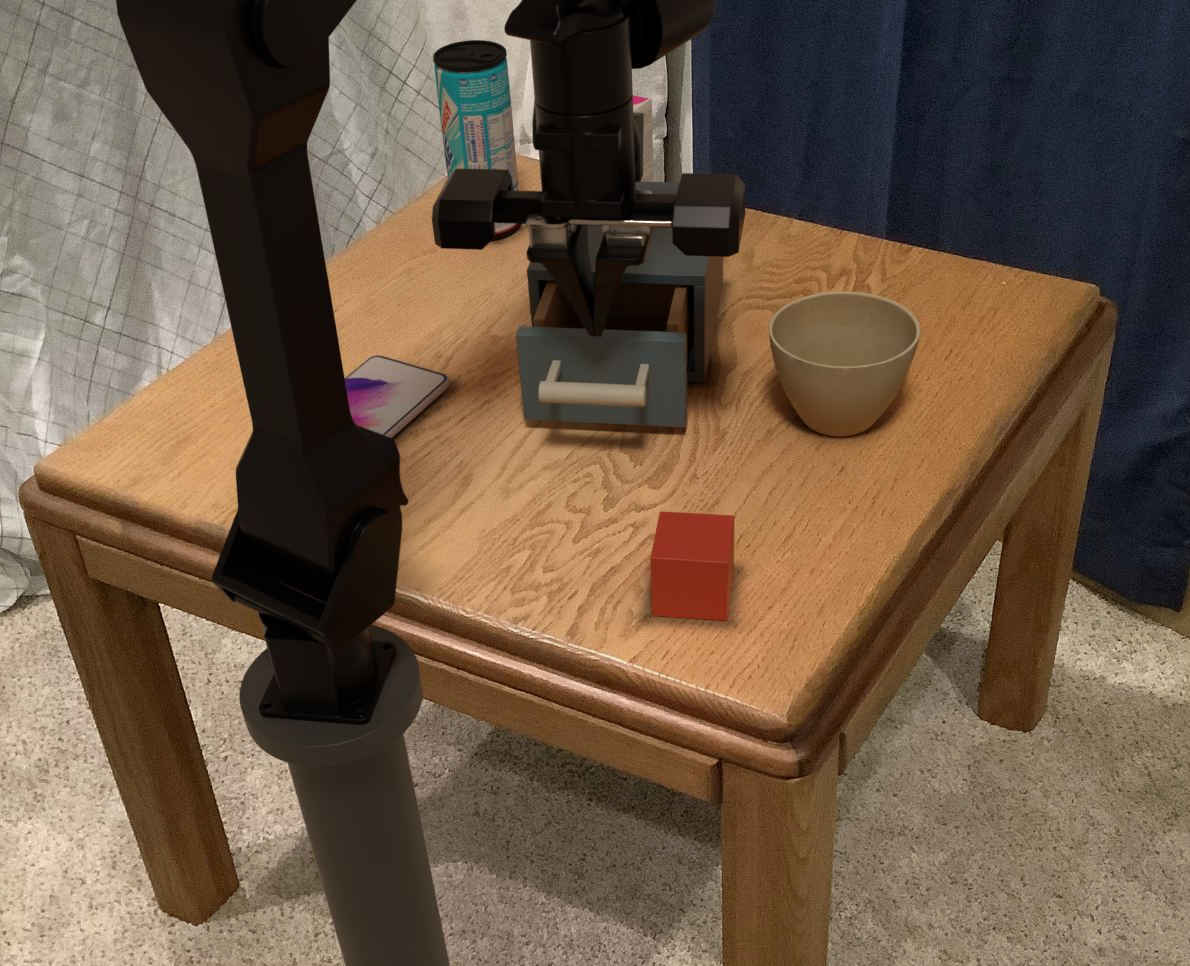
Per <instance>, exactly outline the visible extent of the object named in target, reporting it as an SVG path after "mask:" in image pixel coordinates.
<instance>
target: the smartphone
mask: <svg viewBox="0 0 1190 966" xmlns="http://www.w3.org/2000/svg"><path fill="white" fill-rule="evenodd" d="M344 377H345V383H346V389H347V395H348V401H349V407H350V412H351V415H352V418H353V420H354V422H355V423H356V425H359V426H361V427H364V428H367V429H369V430H372V431H374V432H377V433H380V434H382V435H385V436H388V437H390V438H393V439H394V437H395V436H396V435H397V434H398V433H400V431H401V430H403V429H404V428H405V427H406V426H407V425H408V424H410V423H411V422H412V421H413V420H414V419H415V418H416V417H417V416H418V415H420V413H421V412H423V411H424V410H425V409H426V408H427V407H428V406H429V405H431V404H432V403H433V402H434V401H435V400H436V399H438V397H440V396H441V395H442V394H443V393H444V392H445V391H447V390H448V388H449V387H450V385H451V380H450V377H449V376H448V375H447V374H446V373H444V372H440V371H436V370H433V369H429V368H426V367H423V366H420V365H416V364H412V363H409V362H405V361H402V360H399V359H395V358H391V357H389V356H385V355H381V354H377V355H372V356H370V357H368V358H367V359H366V360H365V361H363V362H362V363H361V364H360V365H358V366H357V368H355V369H354V370H353V371H351V372H350V373H349V374H348V375H347V376H344Z"/></svg>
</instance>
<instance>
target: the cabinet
mask: <svg viewBox="0 0 1190 966" xmlns="http://www.w3.org/2000/svg"><path fill="white" fill-rule="evenodd" d="M679 184H680V181H679V182H678V181H677V182H676V181H674V182H673V181H654V182H636V190H649V191H652V194H677V191H678V188H679ZM602 237H603V234H602V226H590V225H588V250H589V257H590V263H591V270H592V276H593V282H595V265H596V256H597V253H598V250H599V247H600V244H601V240H602ZM526 277H527V278H526V279H527V290H528V300H529V311H530V312H529V313H530V322H531V323H530V324H531V327H534V322H533V319H534V316H535V313H536V311H537V308H538V305H539V303H540V300H541V297H542V295H543V292H544V289H545V286H546V284H547V281H548V280H549V281H555V280H554V279H553V277H552V276H551V275H550V273H549V272H548V271H547V269H546V268H545V267H544V266H543V264H541V263H533V262H530V261H529V264H528V267H527V268H526ZM619 283H640V284H670V285H694V335H693V339H692V344H691V349H690V354H689V359H688V364H687V383H689V382H692V383H705V382H706V378H707V372H708V367H709V360H710V355H711V349H712V345H713V340H714V334H715V330H716V323H717V319H718V312H719V308H720V301H721V297H722V291H723V285H724V257H715V256H686V255H684V254H683V253H682V252H681V251H680V250H679V249H678V248H677V247H676V246H675V245H674V244H673V240H672V228H666V227H654V229H653V232H652V236H651V240H650V243H649V247H648V251H647V254H646V258H645V261H644V263H643V264H641V265H638V266H628V267H627V268H626V270H625V272H624V274H623V276H622V278H621V280H620V282H619Z"/></svg>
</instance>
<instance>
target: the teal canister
mask: <svg viewBox="0 0 1190 966" xmlns="http://www.w3.org/2000/svg"><path fill="white" fill-rule="evenodd" d="M507 52H508V51H507V49H506V47H505V46H504V45H502V44H500V43H498V42H495V41H491V40H485V39H484V40H482V39H471V40H461V41H457V42H452V43H449V44H446V45H443V46H441V47H439V48H438V49H437V50H436V51H434V53H433V56H432V60H433V64H434V65H433V66H434V67H433V68H434V75H435V87H436V93H437V94H436V95H437V101H438V111H439V112H438V113H439V118H440V119H439V120H440V128H441V137H442V144H443V151H444V159H445V167H446V174H447V178H448V177H449V176H450V175H451V174H452V173H453V172H454V170H455V169H504V170H508V171H509V172H510V174H511V176H512V181H513V191H520V190H519V189H520V188H519V179H518V167H517V155H516V154H517V153H516V144H515V133H514V132H515V131H514V121H513V119H514V118H513V110H512V109H513V108H512V99H511V87H510V76H509V67H508V65H509V64H508V58H507V55H508V53H507ZM494 225H495V236H494V238H493V239H492V240H491V241H494V240H495V241H496V240H499V239H502V238H505V237H506V238H507V237H508V236H510V235H511V234H513V233H515V232H516V231H517V230H518V228H519V226H520V224H515V223H494Z"/></svg>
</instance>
